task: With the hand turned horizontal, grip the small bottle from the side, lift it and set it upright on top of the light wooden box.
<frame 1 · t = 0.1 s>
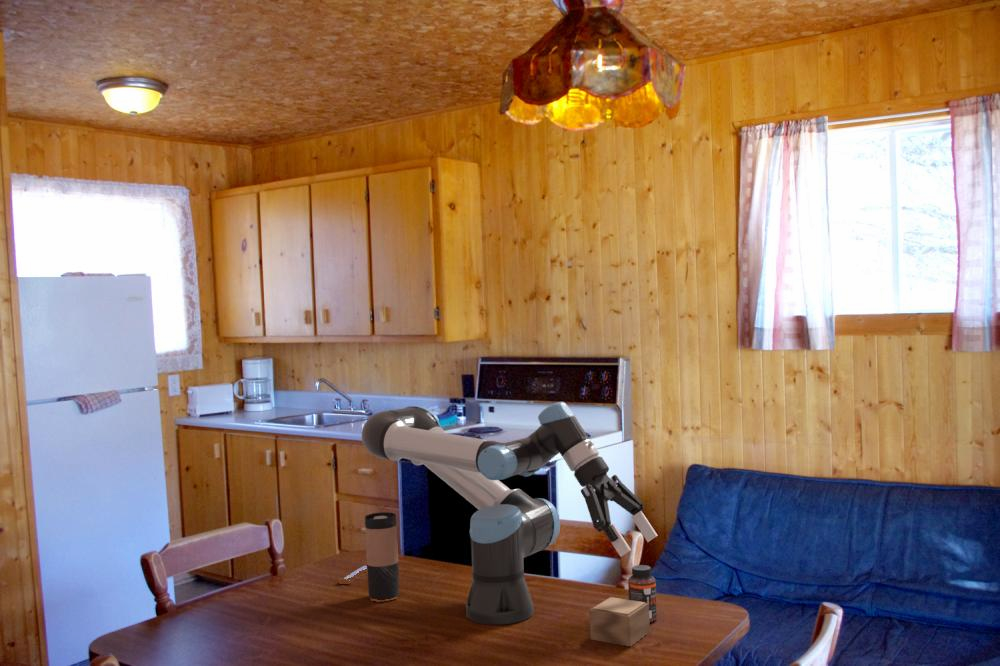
hand: (639, 546, 191), 15 cm above the table, tool tilted 35°, fingers open, 13 cm apart
supplement bottle: (643, 620, 189), on the table
travel mug: (384, 598, 212), on the table
light wooden box: (620, 635, 179), on the table
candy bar: (358, 578, 232), on the table
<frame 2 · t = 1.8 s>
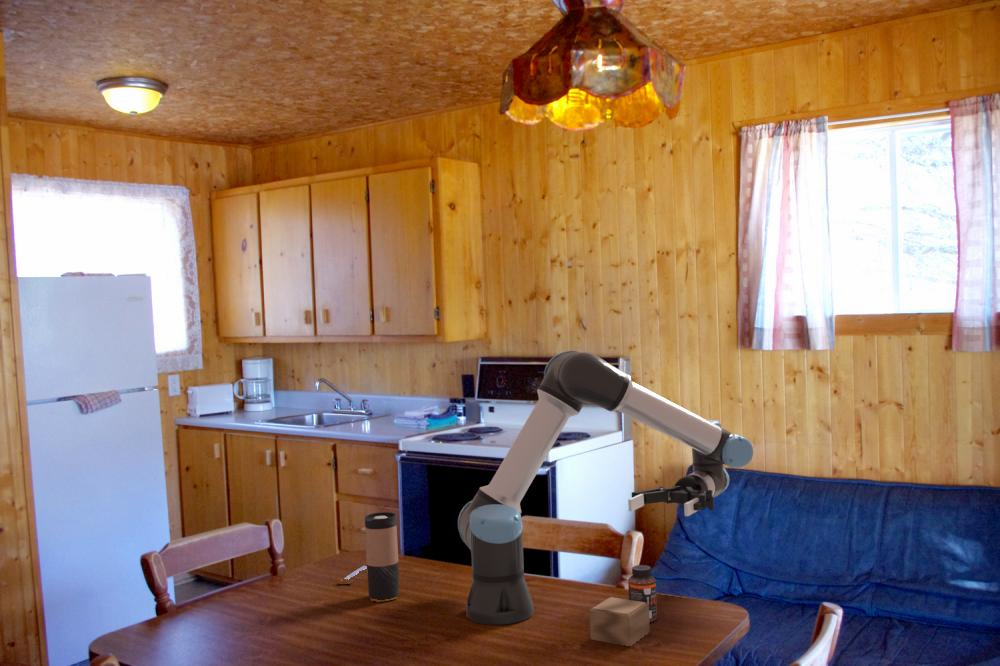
hand: (657, 507, 196), 22 cm above the table, tool horizontal, fingers open, 13 cm apart
nothing on the table moved.
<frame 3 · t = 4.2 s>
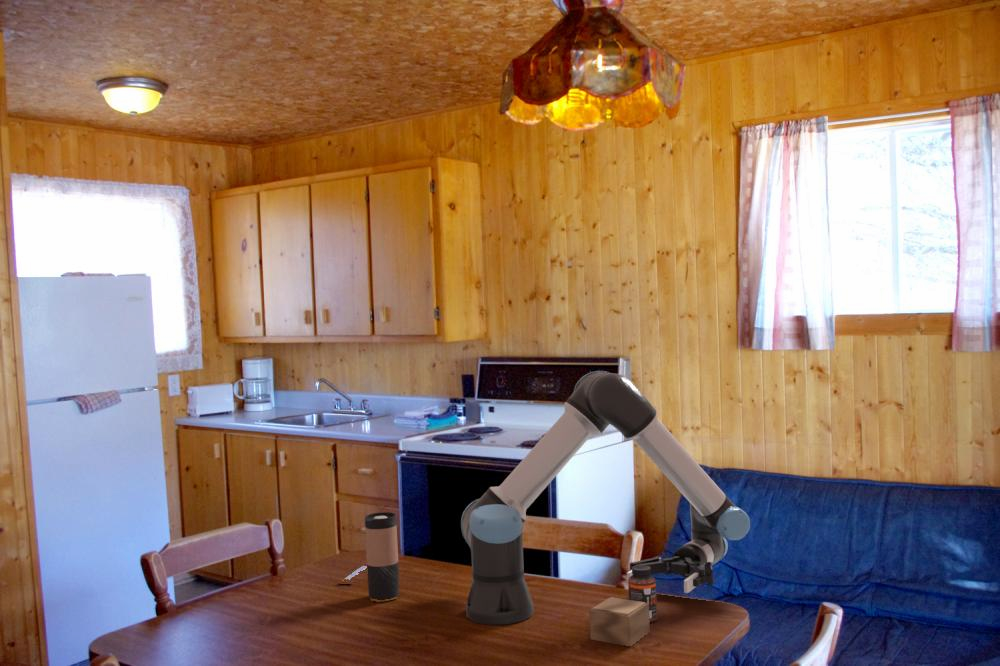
hand: (656, 582, 193), 6 cm above the table, tool horizontal, fingers open, 13 cm apart
nothing on the table moved.
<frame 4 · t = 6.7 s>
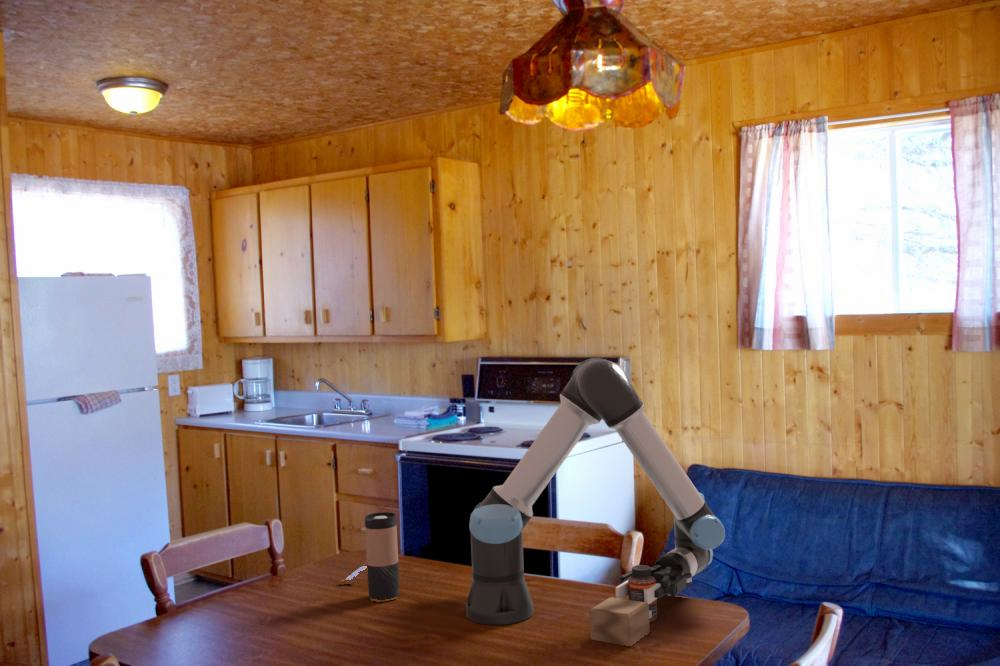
hand: (631, 596, 184), 7 cm above the table, tool horizontal, fingers closed on supplement bottle, 6 cm apart
supplement bottle: (643, 620, 189), on the table, touching gripper
everything else where it was.
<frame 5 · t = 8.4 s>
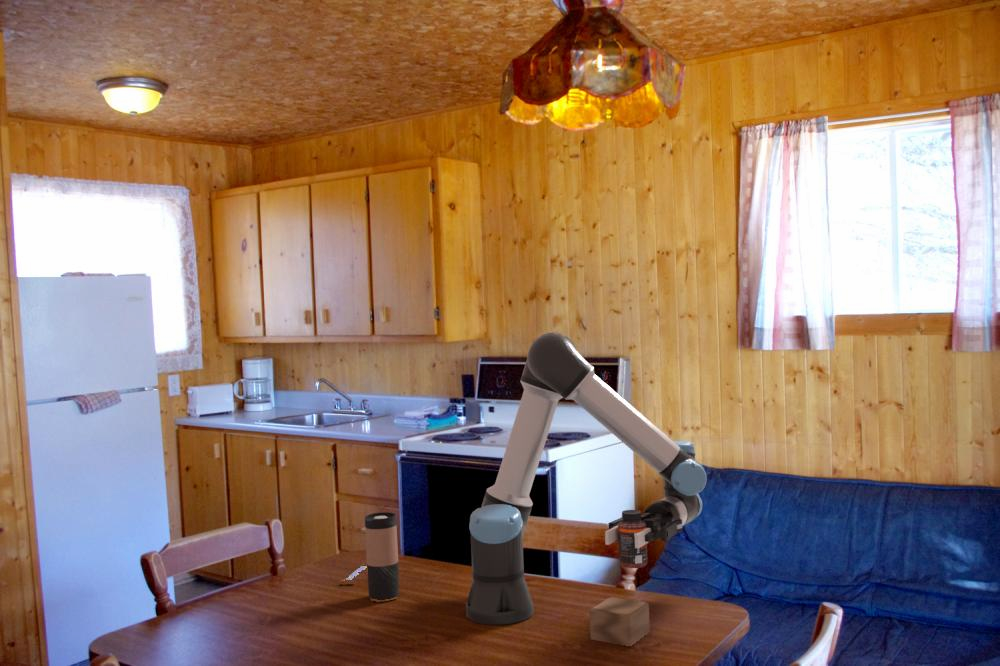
hand: (621, 539, 179), 20 cm above the table, tool horizontal, fingers closed on supplement bottle, 6 cm apart
supplement bottle: (633, 566, 184), point 13 cm above the table, touching gripper
everything else where it was.
when the fingers open (14 cm above the table, at t = 10.2 s): supplement bottle drops 1 cm, resting on light wooden box.
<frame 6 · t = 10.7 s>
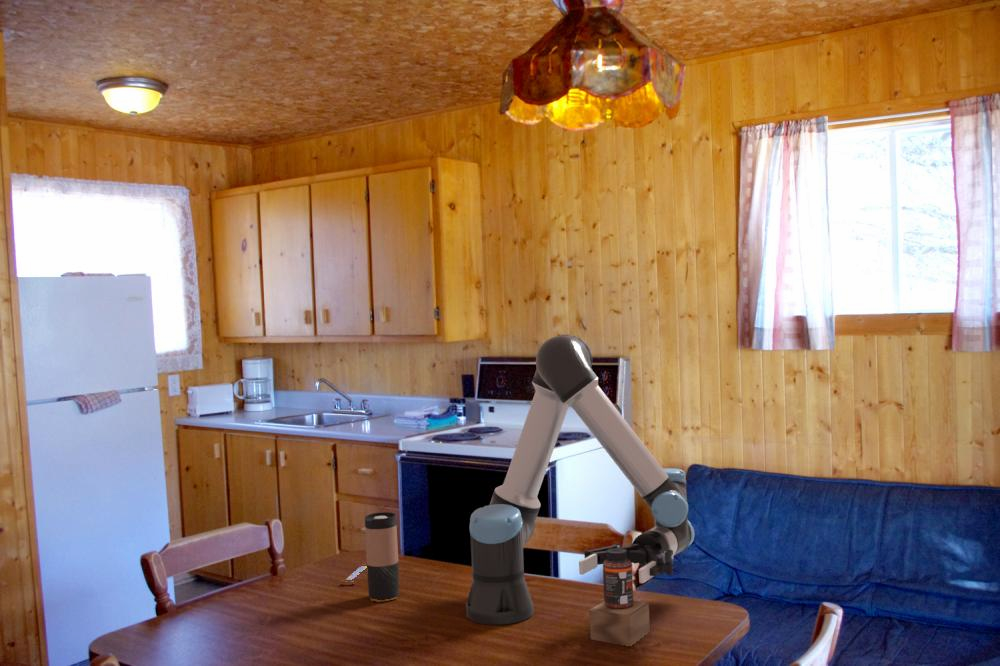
hand: (610, 572, 177), 14 cm above the table, tool horizontal, fingers open, 13 cm apart
supplement bottle: (619, 606, 179), point 6 cm above the table, touching light wooden box
everything else where it was.
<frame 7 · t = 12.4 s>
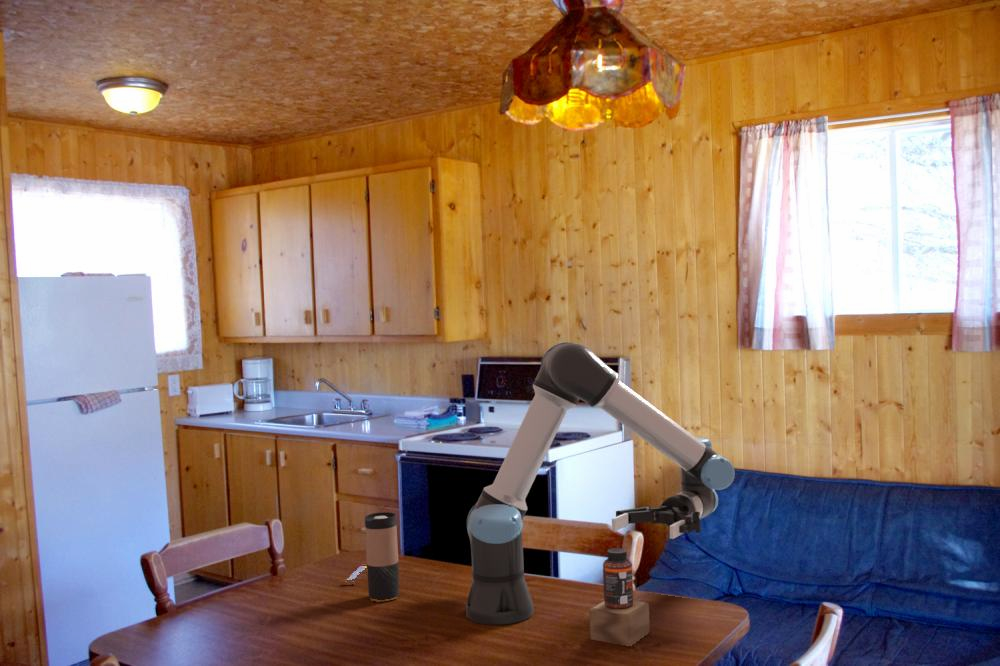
hand: (641, 528, 188), 20 cm above the table, tool horizontal, fingers open, 13 cm apart
nothing on the table moved.
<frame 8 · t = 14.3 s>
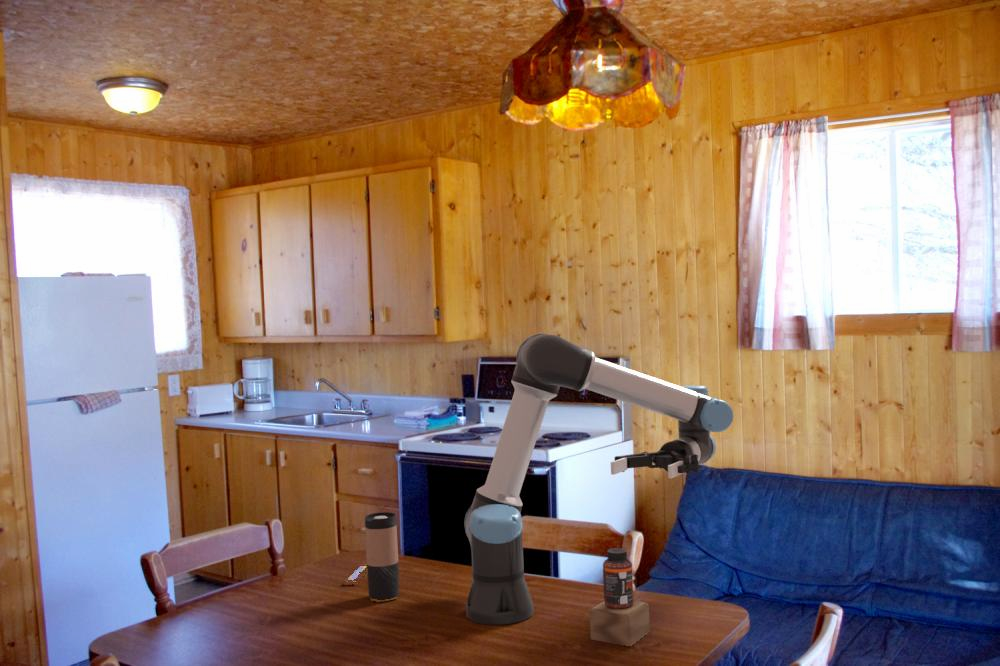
hand: (640, 470, 190), 32 cm above the table, tool horizontal, fingers open, 13 cm apart
nothing on the table moved.
at the end: supplement bottle inside the target area on the light wooden box (0.0 cm from its centre), point 6.1 cm above the light wooden box's base; supplement bottle tilted 0°; the gripper is holding nothing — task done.
